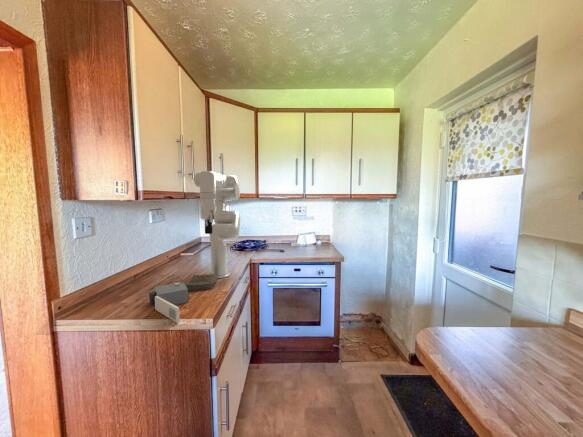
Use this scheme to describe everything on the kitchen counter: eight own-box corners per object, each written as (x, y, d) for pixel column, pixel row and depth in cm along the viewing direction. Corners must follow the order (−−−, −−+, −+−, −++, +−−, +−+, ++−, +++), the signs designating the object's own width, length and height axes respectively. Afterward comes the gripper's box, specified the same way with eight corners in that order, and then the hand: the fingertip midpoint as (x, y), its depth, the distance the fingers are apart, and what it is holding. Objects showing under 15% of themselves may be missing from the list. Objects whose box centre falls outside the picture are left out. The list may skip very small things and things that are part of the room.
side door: (157, 308, 100) (157, 295, 100) (179, 321, 89) (179, 307, 89) (154, 309, 99) (153, 296, 99) (175, 323, 88) (175, 308, 88)
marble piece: (181, 292, 120) (180, 284, 120) (186, 282, 134) (186, 275, 134) (216, 289, 124) (215, 281, 124) (217, 280, 138) (217, 273, 138)
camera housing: (148, 300, 109) (148, 286, 108) (183, 294, 117) (182, 280, 116) (150, 310, 99) (150, 294, 99) (188, 302, 107) (187, 287, 107)
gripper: (196, 196, 123) (197, 232, 124) (204, 196, 110) (204, 235, 112) (211, 197, 127) (211, 231, 128) (220, 196, 115) (220, 234, 116)
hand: (208, 233), depth 120 cm, fingers closed
